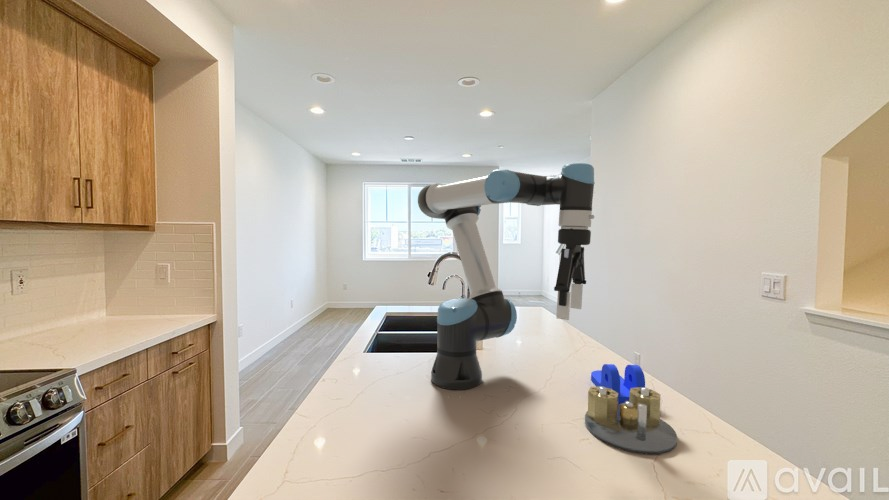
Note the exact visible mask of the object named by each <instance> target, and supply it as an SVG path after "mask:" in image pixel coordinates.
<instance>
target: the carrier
mask: <svg viewBox="0 0 889 500" xmlns="http://www.w3.org/2000/svg"><path fill="white" fill-rule="evenodd" d="M599 394H602V395H606V387H603V386H600V387H599ZM660 417H661V394H660V393H659V392H657V391H655V390H653V389H652V388H651V389H649V388H648V387H646V386H645V387H642V388H641V387H636V388H631V389H630V397H629V401H625V403H622V404H619V405H618V420H617V423H616V424H612V425H604V424H600V423H597V422H594V421H593V420H591V419H590V418H589V417H588V410H587V411H586V412H585V415H584V424H585V427H586V429H587V431H588V432H590V434H591V435H593V436H594V437H595V438H597V439H598V440H599V441H602V442H603V443H605V444H607V445H608V446H611V447H613V448H615V449H619V450H621V451H626V452H627V453H628V452H629V453H633V454H637V455H638V454H639V455H646V456H649V455H650V456H652V455H653V456H655V455H656V456H657V455H658V456H659V455H665V454H668V453H671V452H672V451H674V450H675V449H676V447H677V443H678V436H677V435H678V434H677V432H676V431H675V429H674V428H673V427H672V426H671V425H670V424H668V423H667V422H666V421H665V420H663V419H661V418H660Z"/></svg>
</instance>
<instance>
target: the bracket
mask: <svg viewBox="0 0 889 500" xmlns="http://www.w3.org/2000/svg"><path fill="white" fill-rule="evenodd" d="M590 381H591V383H592V384H593V385H594V387H597V386H603V387H606V388H610V389H612V390H614V391H615V392H617V393H618V405H620V404H622V403H625V401H629V397H630V389H631V388H636V387H641V388H642V387H645V388H646V377H645V373H644V371H643V369H642V367H641V366H640V365H639V364H627V365H626V366H625V368H624V377H623V376H622V375H620V372H619V370H618V367H617V366H616V365H615V363H613V364H612V363H609V364H608V363H604V364H603V365H602V368H601V369H600V370H593V371H591V372H590Z"/></svg>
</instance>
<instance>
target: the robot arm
mask: <svg viewBox="0 0 889 500" xmlns="http://www.w3.org/2000/svg"><path fill="white" fill-rule="evenodd" d="M594 189H595V168H594V166H593V165H592V164H589V163H584V162H583V163H582V162H581V163H580V162H579V163H577V162H575V163H567V164H564V165H563V166H562V167H561V172H560V174H556V175H555V174H554V175H538V174H531V173H524V172H519V171H513V170H509V169H494V170H491V172H490V173H489V174H488V175H486V176H482V177H477V178H472V179H468V180H466V179H465V180H462V181H456V182H452V183H449V184H443V183H440V182H439V183H437V182H436V183H433V184H432V183H431V184H427V185H426V186H423V188H422V189H421V190H420V192H419V193H418V195H417V205H418V208H419V210H420V211H421V212H422V213H423V214H424V215H425V216H427V217H429V218H432V219H438V220H439V219H441V220H445V225H446V227H447V229H449V230H450V231H452V233H453V239H454V240H455V244H456V248H457V251H458V254H459V255H458V256H459V258H460V262H461V264H462V265H461V266H462V268H463V273H464V276H465V279H466V283H467V287H468V289H469V290H468V291H469V294H470V295H469V297H468V298H464V297H463V298H454V299H449V300H446V301H443V302H442V303H440V305H439V306H438V308H437V317H436V322H437V329H436V330H437V334H436V335H437V336H436V337H437V338H436V339H437V340H436V341H437V342H436V343H437V347H436V349H437V351H436V356H435V359H434V362H433V365H432V369H431V373H430V374H431V375H430V377H431V378H430V380H431V382H432V383H433V384H434V386H435V385H436V386H437V387H439V388H443V389H447V390H453V391H454V390H455V391H456V390H457V391H459V390H461V391H462V390H468V389H472V388H475V387H478V386H479V385H481V383H482V381H483V372H482V368H481V365H480V361H479V358H478V355H477V342H479V341H484V340H491V339H495V338H500V337H504V336H506V335H508V334H511V332H512V331H513V330H514V329H515V326H516V324H517V319H518V318H517V317H518V315H517V309H516V306H515V304H514V303H513V301H511V300H510V299H509V298H505V296H504V293H503V290H501V289H500V288H497V286H496V284H495V283H496V282H495V280H494V277H493V274H492V270H491V268H490V264H489V261H488V257H487V253H486V251H485V249H484V245H483V242H482V239H481V236H480V232H479V229H478V226H477V222H478V220H479V216H480V213H481V211H482V209H481V207H482V206H485V205H486V206H487V205H494V204H495V205H496V204H498V205H499V204H509V203H514V204H515V203H516V204H517V203H519V204H526V205H528V206H536V207H540V206H548V205H549V206H550V205H557V206H559V214H558V216H559V217H558V226H559V227H560V228H559V229H558V235H557V243H558V244H559V245H565V248H561V250H560V259H559V264H558V265H559V267H558V271H557V276H556V277H557V278H556V283H555V285H554V287H553V291H554V292H557V303H556V317H555V318H556V319H559V320H565V321H569V320H570V311H571V310H570V309H576V310H582V306H583V305H582V304H583V288H584V285H586V284H587V280H586V274H585V273H586V272H585V270H586V269H585V247H584V246H589V245H590V244H591V236H592V230H591V229H589V228H591V227H592V220H594V219H595V216H594V214H593V199H594V198H593V197H594Z"/></svg>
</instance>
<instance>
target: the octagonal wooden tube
mask: <svg viewBox="0 0 889 500" xmlns="http://www.w3.org/2000/svg"><path fill="white" fill-rule="evenodd" d="M599 387H600V386H597V387H596V386H590V387H589V388H588V392H587V394H588V395H587V411H588V417H589V418H590V419H591V420H593V421H594V422H597V423H600V424H604V425H612V424H616V423H617V420H618V406H619V404H618V393H617V392H615V391H614V390H612V389H610V388H606V395H602V394H599Z"/></svg>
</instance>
